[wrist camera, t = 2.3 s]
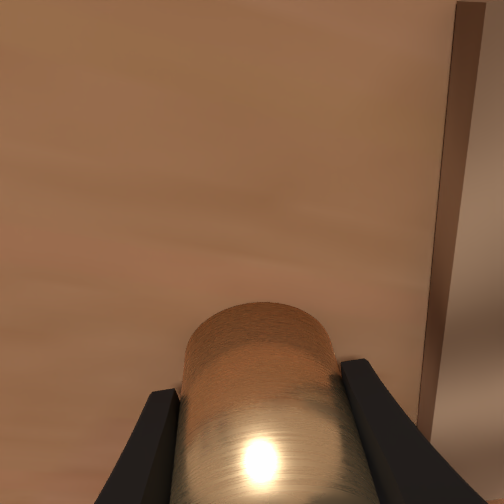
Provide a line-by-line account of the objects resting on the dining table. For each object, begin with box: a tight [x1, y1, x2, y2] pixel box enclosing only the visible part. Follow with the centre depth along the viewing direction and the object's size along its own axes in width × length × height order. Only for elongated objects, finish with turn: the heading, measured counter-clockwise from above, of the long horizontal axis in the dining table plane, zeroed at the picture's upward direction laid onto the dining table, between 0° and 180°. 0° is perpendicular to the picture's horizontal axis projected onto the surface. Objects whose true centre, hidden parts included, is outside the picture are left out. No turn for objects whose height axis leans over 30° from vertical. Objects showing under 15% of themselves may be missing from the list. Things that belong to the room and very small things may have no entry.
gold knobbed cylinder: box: [170, 302, 380, 504], centre depth 10 cm, size 4×4×5 cm
